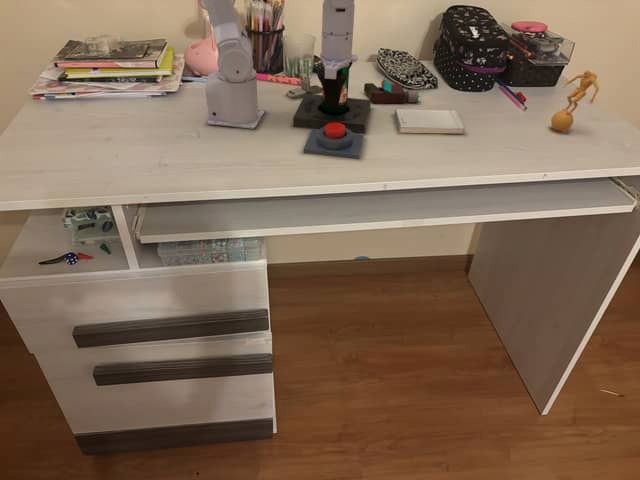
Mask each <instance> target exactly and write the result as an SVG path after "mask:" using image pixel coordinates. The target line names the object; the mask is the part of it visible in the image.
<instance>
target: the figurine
mask: <svg viewBox="0 0 640 480" xmlns="http://www.w3.org/2000/svg"><path fill="white" fill-rule="evenodd" d="M597 78H598V76H597V74H596V73H595V72H591V71H590V70H589V69H587V70H585V71H584V72H583V74H578V75H575V77H573V78H572V79H570V80H569V81H567V82H566V83H565V84H564V86H563V87H562V89H565V87H566V86H567V85H569V84H571V83H573V82H574V81H576V80H577V79H580V81H579V82H580V83H579V86H577V87H575V88H574V90H573V91H572V92H571V93H570V94H568V95H567V96H566V97H567V98H566V99H567V102H568V105H567V106H566V107H565V108H563V109H561V110H558V111H557V112H555V113H554V114H553V115H552V117H551V120H550V121H551V122H550V124H551V126H552V128H553V129H554V130H555V131H557V132H565V131H567V130H569V129H570V128H571V127H572V126H573V124H574V116H573V114H572V113H573V112H574V111H575V110H576V109H577V107H579V103H578V102H579V101H581V100H582V99H583V98H584V97H586V95H587V92H586V91H587V89H589V87H591V86H592V85H593V86H594V88H595V90H594V91H593V94H592V97H591V98H590V99H589V101H588V104H589V105H592V104H593V103H594V100H595V98H596V96H597V94H598V92H599V90H600V87H599V84H598V82H597ZM571 106H573V108H571ZM570 108H571V109H570ZM569 109H570V110H569ZM568 110H569V111H568Z"/></svg>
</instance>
